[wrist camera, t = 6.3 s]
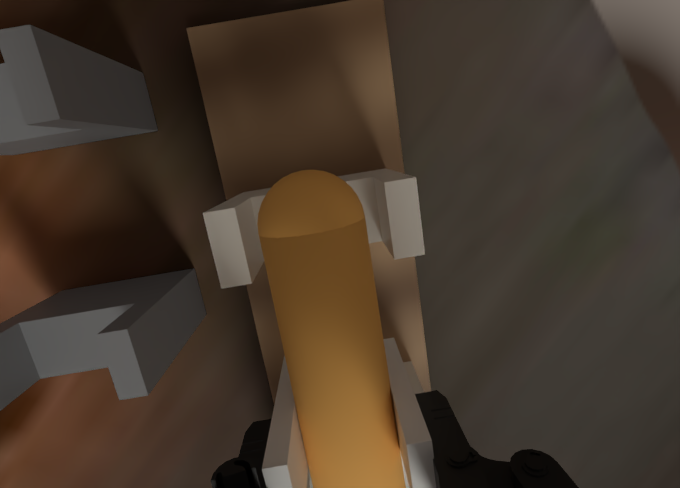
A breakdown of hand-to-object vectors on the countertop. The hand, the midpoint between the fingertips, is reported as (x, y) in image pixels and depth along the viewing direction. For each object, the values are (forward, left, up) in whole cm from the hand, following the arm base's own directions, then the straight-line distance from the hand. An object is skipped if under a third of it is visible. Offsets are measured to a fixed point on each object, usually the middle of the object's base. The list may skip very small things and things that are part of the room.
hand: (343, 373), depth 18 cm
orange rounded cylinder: (+1, 0, +1) cm, 2 cm away
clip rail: (-2, 0, -7) cm, 7 cm away
